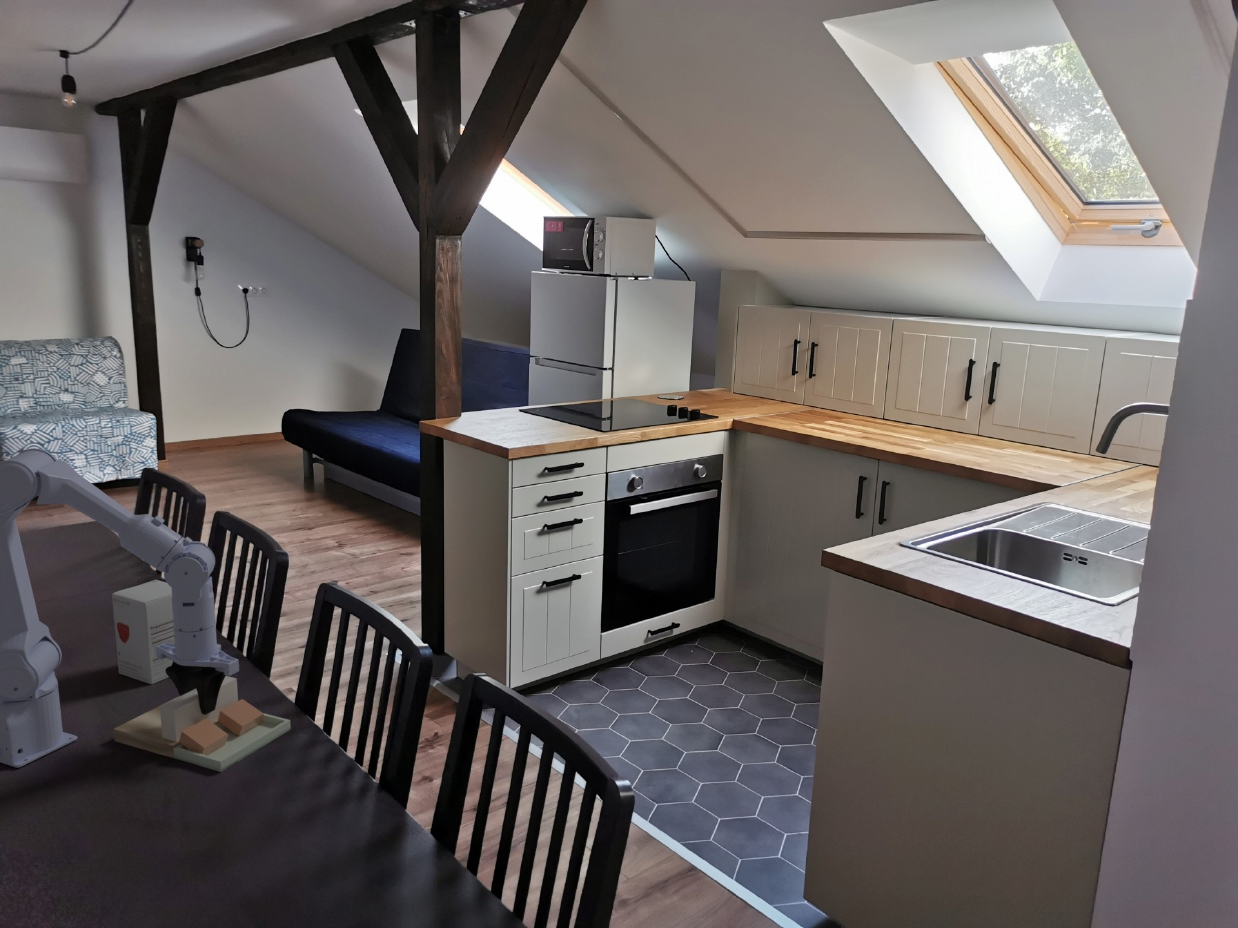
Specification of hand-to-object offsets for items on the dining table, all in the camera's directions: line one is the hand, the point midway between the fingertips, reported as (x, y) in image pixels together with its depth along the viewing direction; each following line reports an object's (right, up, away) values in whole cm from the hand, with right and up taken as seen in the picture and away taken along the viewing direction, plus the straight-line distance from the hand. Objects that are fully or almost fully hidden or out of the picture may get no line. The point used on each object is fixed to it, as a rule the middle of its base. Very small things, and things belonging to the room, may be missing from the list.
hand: (200, 709), depth 143 cm
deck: (-4, -4, +2) cm, 6 cm away
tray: (+6, -5, -2) cm, 8 cm away
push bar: (0, -2, 0) cm, 2 cm away
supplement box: (-18, +1, +23) cm, 29 cm away
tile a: (+2, -4, -4) cm, 6 cm away
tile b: (+5, -3, +2) cm, 6 cm away
